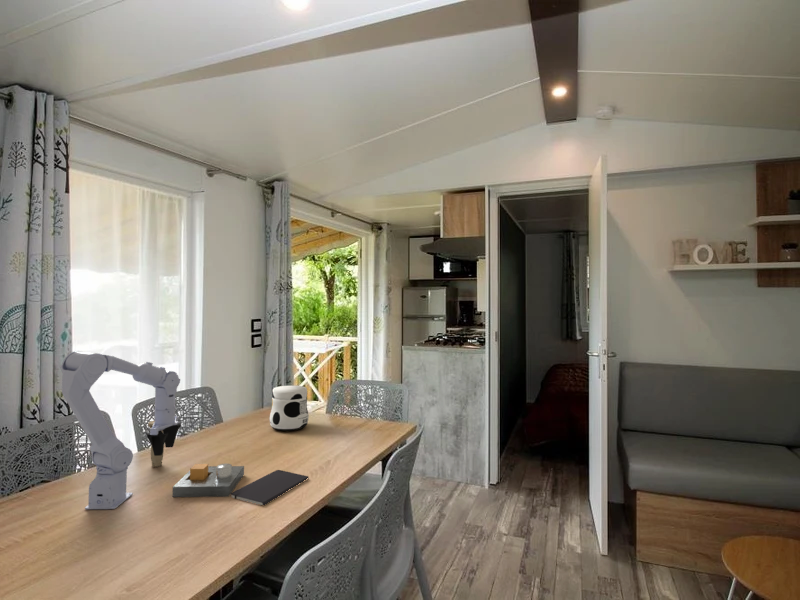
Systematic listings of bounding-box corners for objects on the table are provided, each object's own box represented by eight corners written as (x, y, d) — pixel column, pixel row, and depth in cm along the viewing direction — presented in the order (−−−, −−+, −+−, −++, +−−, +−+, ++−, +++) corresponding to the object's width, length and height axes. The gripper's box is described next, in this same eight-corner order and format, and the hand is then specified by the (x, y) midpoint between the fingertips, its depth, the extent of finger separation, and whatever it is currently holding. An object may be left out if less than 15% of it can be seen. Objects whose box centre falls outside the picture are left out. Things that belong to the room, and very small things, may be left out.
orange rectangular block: (203, 488, 134) (203, 468, 134) (189, 488, 134) (190, 468, 134) (207, 483, 138) (208, 464, 138) (194, 483, 138) (195, 464, 138)
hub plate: (228, 496, 129) (229, 476, 129) (172, 497, 128) (172, 476, 128) (243, 475, 145) (244, 457, 145) (194, 475, 144) (194, 457, 144)
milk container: (269, 424, 206) (269, 385, 206) (306, 421, 211) (307, 384, 211) (269, 434, 189) (270, 393, 190) (310, 432, 195) (311, 391, 195)
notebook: (262, 508, 123) (308, 481, 143) (262, 502, 123) (308, 476, 143) (229, 499, 129) (277, 474, 148) (229, 493, 129) (277, 469, 148)
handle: (156, 469, 148) (157, 425, 148) (144, 466, 151) (145, 422, 151) (169, 465, 153) (170, 421, 153) (156, 461, 155) (157, 419, 155)
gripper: (167, 414, 133) (166, 459, 132) (187, 403, 147) (186, 443, 147) (143, 414, 132) (142, 459, 132) (165, 403, 146) (164, 443, 146)
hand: (164, 451), depth 139 cm, fingers open, 7 cm apart
